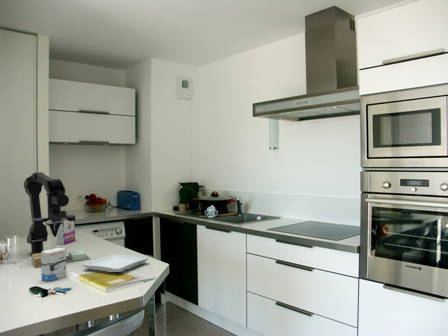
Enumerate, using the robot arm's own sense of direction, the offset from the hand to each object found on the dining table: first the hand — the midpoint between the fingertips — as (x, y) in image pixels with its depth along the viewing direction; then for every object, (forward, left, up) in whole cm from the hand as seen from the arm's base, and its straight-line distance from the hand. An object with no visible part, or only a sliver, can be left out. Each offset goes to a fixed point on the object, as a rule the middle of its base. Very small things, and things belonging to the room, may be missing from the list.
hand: (54, 236), depth 186 cm
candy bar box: (-41, +13, -12) cm, 45 cm away
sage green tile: (+2, +10, -9) cm, 13 cm away
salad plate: (+31, +21, -12) cm, 39 cm away
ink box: (+32, -5, -12) cm, 34 cm away
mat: (+2, +9, -12) cm, 15 cm away
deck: (+3, -3, -12) cm, 12 cm away
